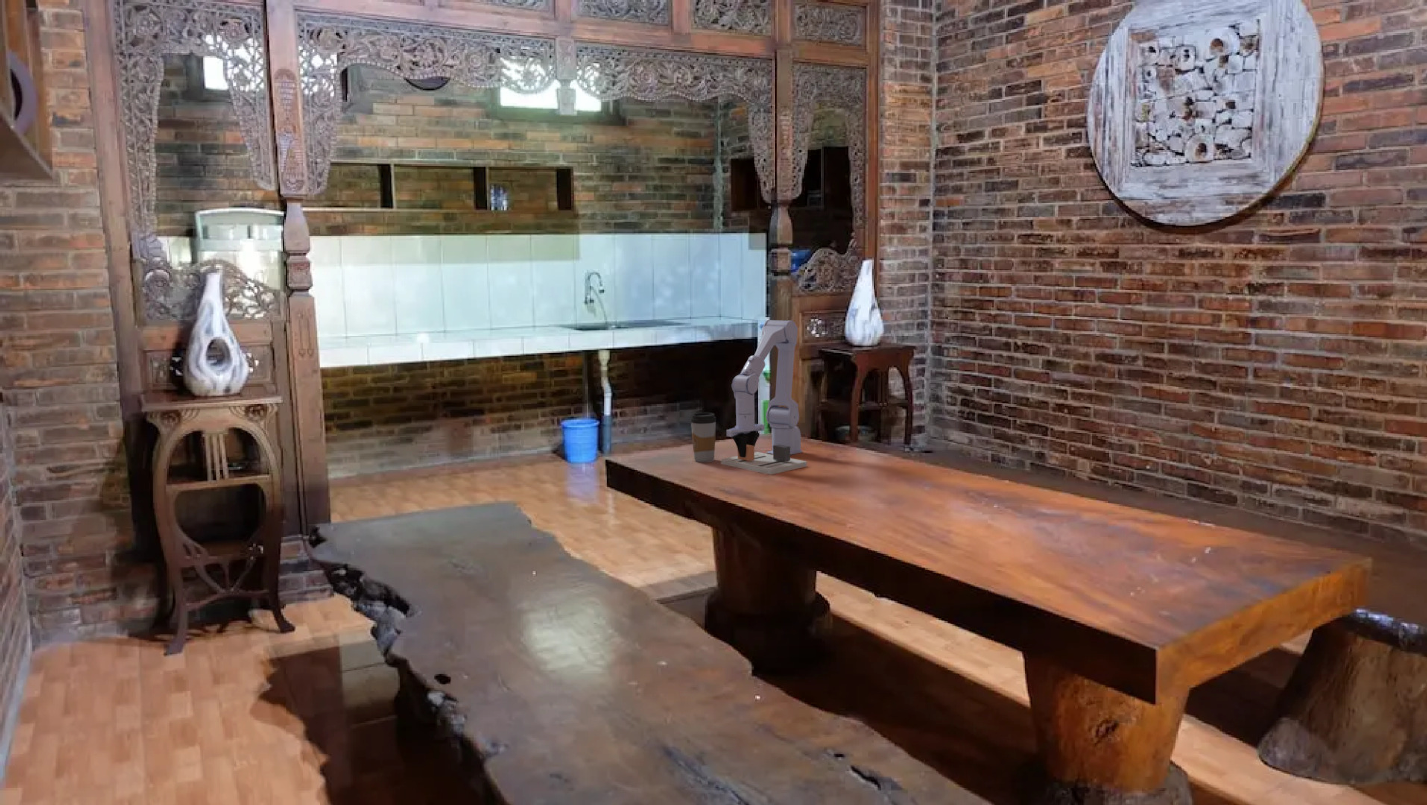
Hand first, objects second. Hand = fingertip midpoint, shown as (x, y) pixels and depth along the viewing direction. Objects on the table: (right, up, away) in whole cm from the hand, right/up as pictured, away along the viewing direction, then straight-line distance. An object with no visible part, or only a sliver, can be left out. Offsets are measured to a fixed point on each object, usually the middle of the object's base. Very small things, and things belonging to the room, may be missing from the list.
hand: (746, 456), depth 310 cm
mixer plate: (+5, -3, 0) cm, 6 cm away
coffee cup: (-13, -2, +9) cm, 16 cm away
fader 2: (+11, -1, -2) cm, 11 cm away
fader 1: (0, -1, 0) cm, 1 cm away
